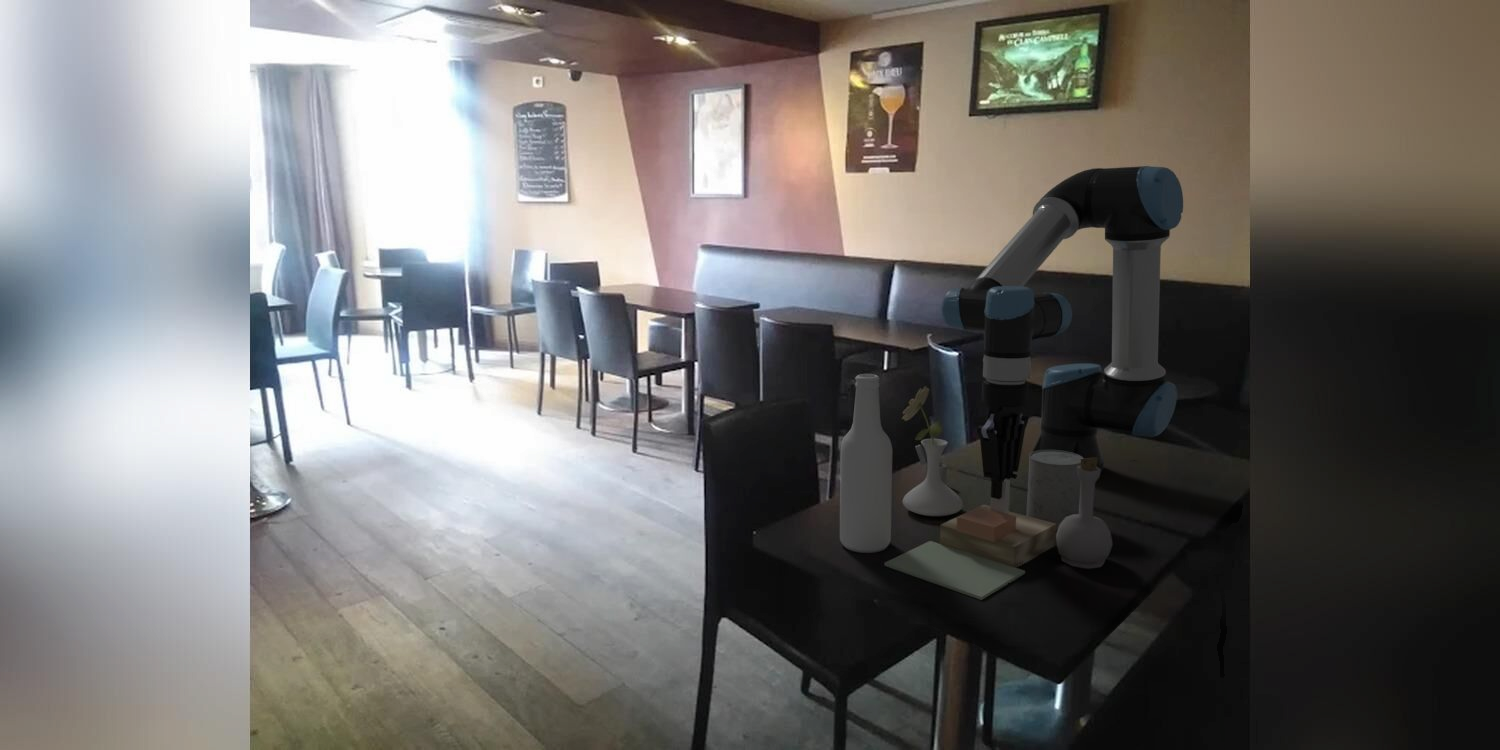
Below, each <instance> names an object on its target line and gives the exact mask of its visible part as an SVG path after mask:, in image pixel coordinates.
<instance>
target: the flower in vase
mask: <svg viewBox="0 0 1500 750" xmlns="http://www.w3.org/2000/svg"><path fill="white" fill-rule="evenodd" d="M929 394H930V388H928V387H927V386H926V385H924V387H923V389H922V387H921V388H919V389H918V391H917V393H916V394H915V397H914V398H911V399H910V400H909V401H908V406H907V407H906V408H905V409H904V410H903V411H902V415H903V416H902V417H901V419H902V420H904V421H905V422H907V421H909V420H911V419H912V418H913V417H914V416H915V414H917V413H918V412H919V411H920V410H921V412H922V414H923V417H924V419H925V422H926V425H927V428H922V430H921V431H919V432H918V433H917V434H916V436H915V441H920V440H921V441H920V443H921V444H922V445H923V446H924V448H925V450H926V454H927V461H928V472H927V477H926V476H925V479H924V480H923V481H922V482H921V483H919V484H917V485H916V486H915V487H914V488H912V489H911V490H909V491H908V492H907V493H906V494H905V495H904V496H903V499H902V504H903V506H904V507H905V509H907V510H908V511H910V512H912V513H914V514H918V515H921V516H926V517H946V516H950V515H953V514H957V513H958V512H960V510H962V508H963V507H964V504H963V501H962V498H961V497H960V496H959V494H957V492H955V491H954V490H953V489H951V488H950V487H949V486H948V485H947V484H946V485H945V484H944V483H943V482H942V480H941V478H940V460H942V459H941V458H942V454H943V452H944V449H945V448H946V446H948V441H947V440H945V439H942V438H941V439H940V438H935V437H937V436H939V435H941V434H942V433H943V426H942V424H941V420H937V421H935V423H933V424H932V425H930V424H929V421H928V418H927V415H926V412H925V411H924V408H923V405H924V404H925V403H926V400H927V398H928V395H929ZM928 433H929V436H930V438H925V437H926V436H927V434H928ZM924 438H925V439H924Z"/></svg>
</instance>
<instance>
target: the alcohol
mask: <svg viewBox="0 0 1500 750" xmlns="http://www.w3.org/2000/svg"><path fill="white" fill-rule="evenodd" d="M854 378H855V380H856V382H855V384H854V386H855V394H854V395H855V398H854V408H853V420H852V425H851V427H850V429H849V431H848V432H847V433H846V434H845V435H844V437H843V439H842V440H841V446H840V461H839V463H840V464H839V465H840V468H839V469H840V473H839V475H840V476H839V479H840V481H839V482H840V483H839V486H840V487H839V489H840V490H839V492H840V493H839V541H840V542H841V544H842V546H843V547H844V548H846V549H847V550H849V551H851V552H855V553H862V554H863V553H864V554H872V553H878V552H882V551H884V550H885V549H887V548H888V546H889V545H890V543H891V541H892V540H891V538H892V537H891V536H892V533H891V532H892V496H893V495H892V494H893V493H892V492H893V491H892V489H893V488H892V487H893V484H892V483H893V447H892V446H893V445H892V442H891V439H890V438H889V436H888V434H887V433H886V432H885V431H884V430H883V426H882V425H881V411H880V408H881V407H880V394H879V393H880V392H879V387H880V383H879V380H880V377H879V376H878V375H877V374H872V373H862V374H858V375H856V376H855V377H854Z"/></svg>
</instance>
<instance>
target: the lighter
mask: <svg viewBox="0 0 1500 750" xmlns="http://www.w3.org/2000/svg"><path fill="white" fill-rule="evenodd" d="M915 451H916V453H917V456H918V458H919V461H920V465H921V466H922V465H925V464H926V470H925V475H926V476H925V478H926V477H927V472H928V461H927V454H926V450H925V448H924V446H923V445H922V443H921V444H918V445H915ZM947 468H948V466H947V465H945V464H943V462H942V459H940V478H941V480H942V482H943V483H944V484H945V485H946V486H947V476H948V475H947V472H948V471H947Z"/></svg>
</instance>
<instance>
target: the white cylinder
mask: <svg viewBox="0 0 1500 750" xmlns="http://www.w3.org/2000/svg"><path fill="white" fill-rule="evenodd" d="M1028 458H1029V459H1028V477H1027V478H1028V479H1027V493H1026V494H1027V498H1026V499H1027V500H1026V513H1025V514H1026V515H1025V516H1029V517H1032V518H1036V519H1040V520H1044V521H1047V522H1051V523H1055V524H1056V531H1057V530H1058V527H1059V525H1060V523H1061V522H1062V521H1063V520H1064V519H1065V517H1067V516H1070V515H1073V514H1079V503H1080V488H1081V481H1080V479H1079V478H1078V475H1077V466H1080V465H1081V459H1084V458H1083V457H1082V456H1080V455H1078V454H1075V453H1072V452H1067V451H1060V450H1038V451H1034V452H1033V451H1031V452H1030V453H1029V454H1028Z"/></svg>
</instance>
